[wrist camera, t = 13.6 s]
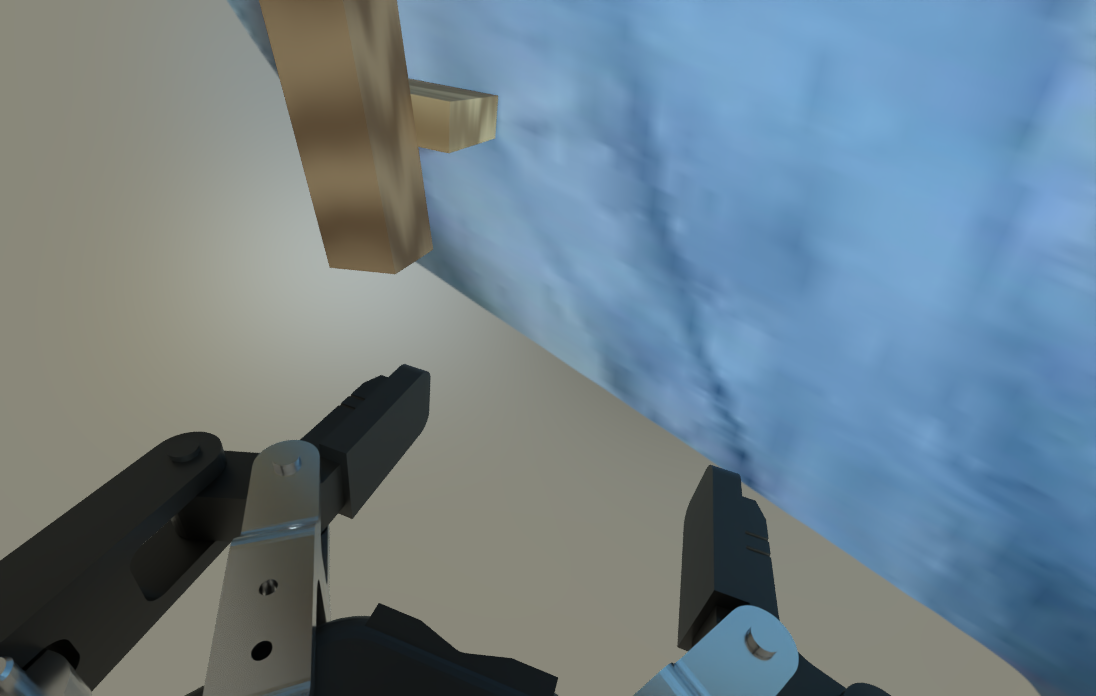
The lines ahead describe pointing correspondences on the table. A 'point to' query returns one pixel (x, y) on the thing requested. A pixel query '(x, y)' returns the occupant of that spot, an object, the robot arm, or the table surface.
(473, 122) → the fulcrum
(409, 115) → the batten
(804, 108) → the table surface
